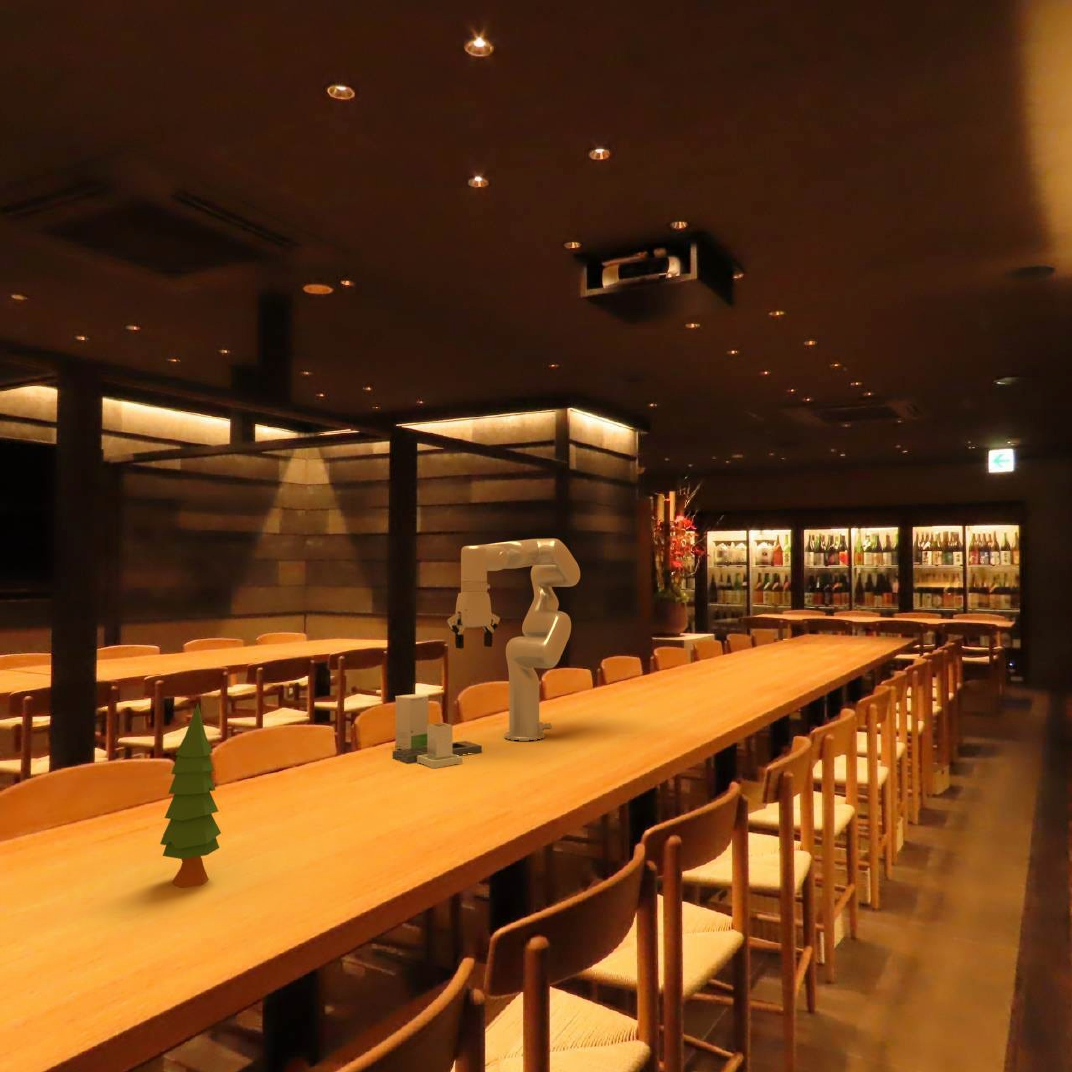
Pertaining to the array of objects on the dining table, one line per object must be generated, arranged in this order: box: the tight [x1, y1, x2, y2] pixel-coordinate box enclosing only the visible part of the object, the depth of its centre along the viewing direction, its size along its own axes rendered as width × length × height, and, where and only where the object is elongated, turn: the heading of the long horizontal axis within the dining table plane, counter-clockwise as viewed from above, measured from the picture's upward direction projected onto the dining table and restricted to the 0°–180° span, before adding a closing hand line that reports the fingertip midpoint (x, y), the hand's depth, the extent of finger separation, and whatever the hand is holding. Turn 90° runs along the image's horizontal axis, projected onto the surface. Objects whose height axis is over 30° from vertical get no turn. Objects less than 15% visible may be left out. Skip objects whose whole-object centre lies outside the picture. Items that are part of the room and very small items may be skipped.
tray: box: [416, 754, 463, 769], centre depth 244 cm, size 9×9×2 cm
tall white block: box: [427, 722, 453, 761], centre depth 244 cm, size 5×5×10 cm
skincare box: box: [394, 693, 430, 750], centre depth 265 cm, size 8×7×16 cm
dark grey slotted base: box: [392, 740, 483, 764], centre depth 255 cm, size 24×9×2 cm, turn 126°
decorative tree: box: [159, 703, 222, 888], centre depth 152 cm, size 10×9×30 cm
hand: (474, 647), depth 259 cm, fingers open, 9 cm apart
